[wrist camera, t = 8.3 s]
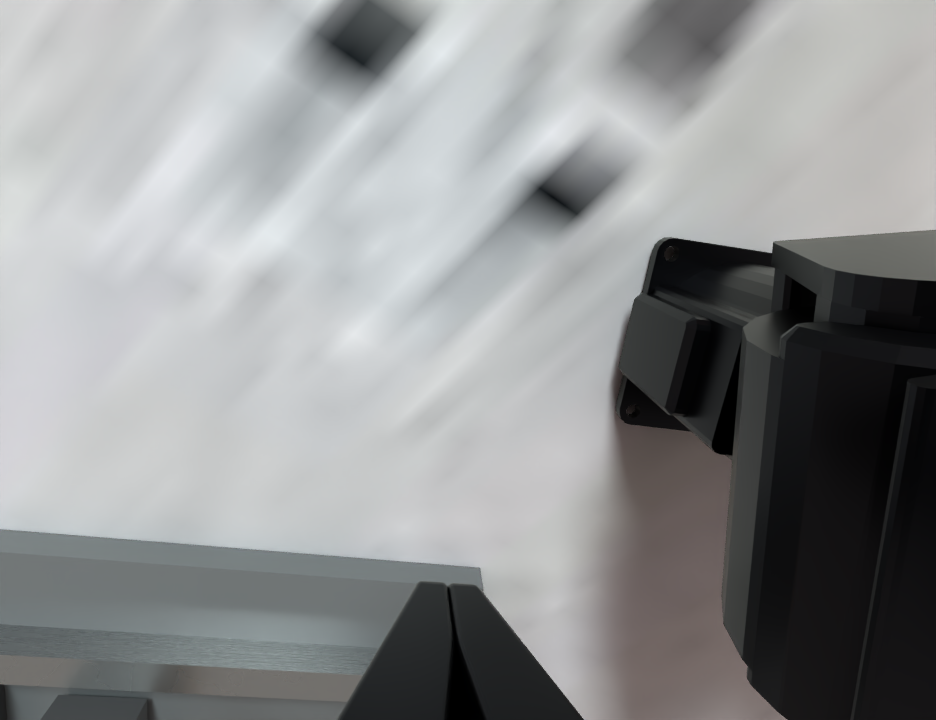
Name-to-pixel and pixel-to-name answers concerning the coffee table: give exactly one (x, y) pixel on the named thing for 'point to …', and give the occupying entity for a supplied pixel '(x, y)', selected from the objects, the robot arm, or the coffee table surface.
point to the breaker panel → (194, 625)
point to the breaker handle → (96, 708)
